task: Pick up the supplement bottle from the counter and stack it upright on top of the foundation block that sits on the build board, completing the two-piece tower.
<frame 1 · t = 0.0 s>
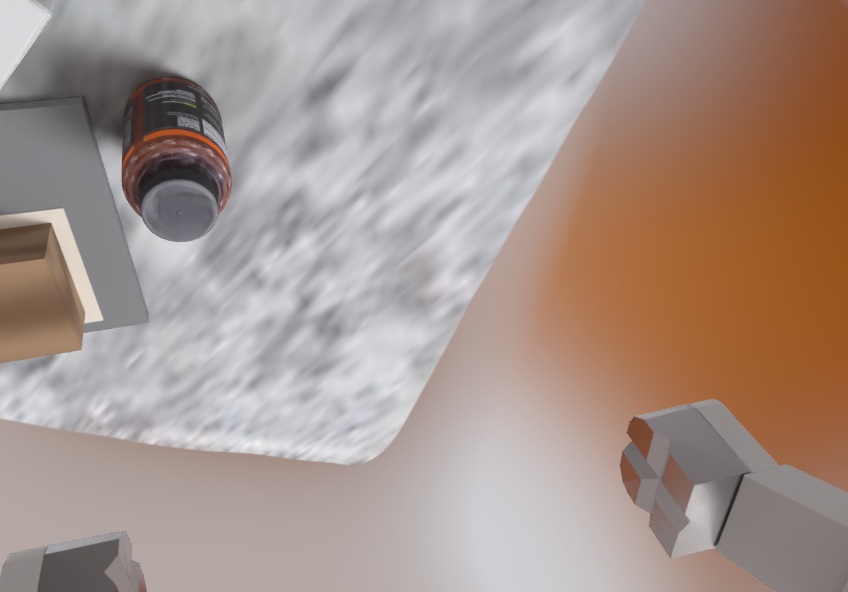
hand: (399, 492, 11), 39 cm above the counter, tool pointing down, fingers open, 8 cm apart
supplement bottle: (173, 116, 46), on the counter
foundation block: (6, 278, 49), point 1 cm above the counter, touching build board
build board: (9, 232, 48), on the counter
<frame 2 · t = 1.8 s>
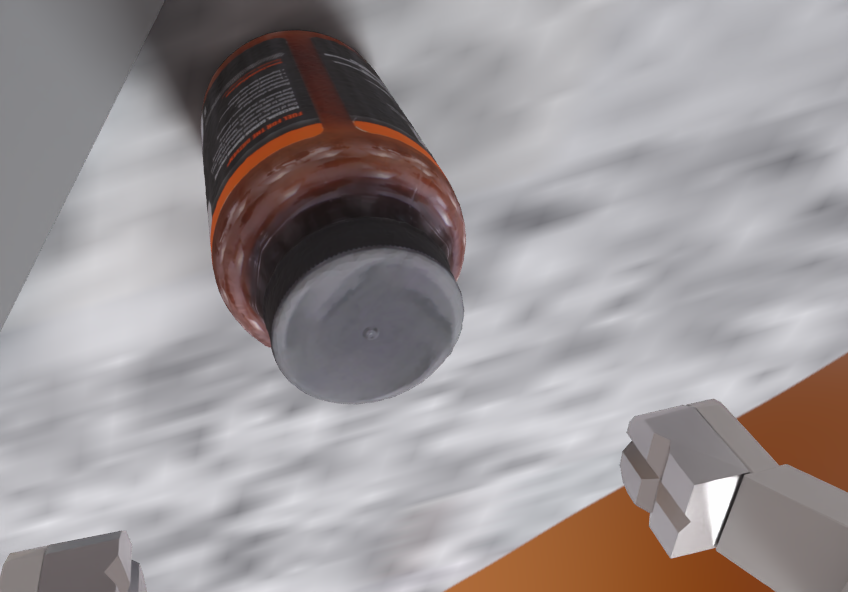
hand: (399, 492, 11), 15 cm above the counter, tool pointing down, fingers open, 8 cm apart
supplement bottle: (295, 117, 23), on the counter
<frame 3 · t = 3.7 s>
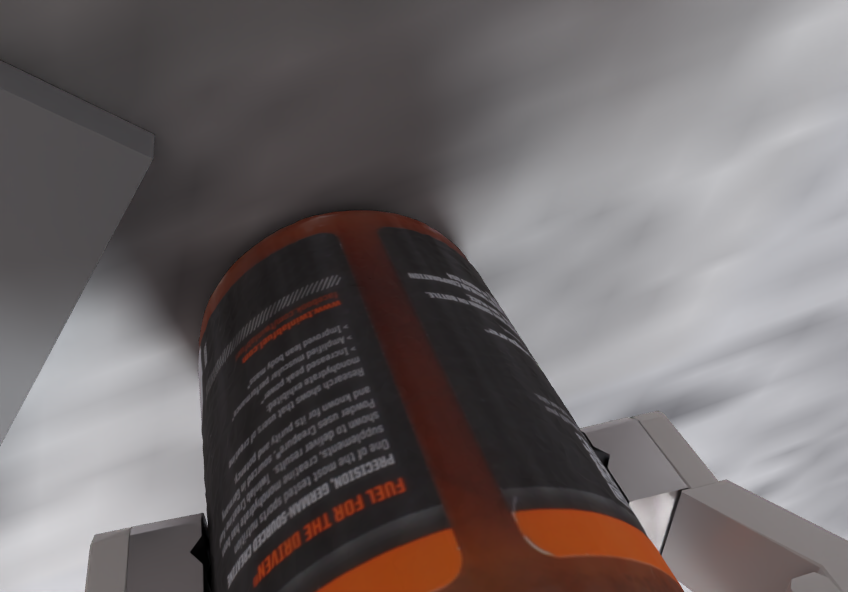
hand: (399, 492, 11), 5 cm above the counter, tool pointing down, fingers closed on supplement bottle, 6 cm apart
supplement bottle: (342, 318, 15), on the counter, touching gripper
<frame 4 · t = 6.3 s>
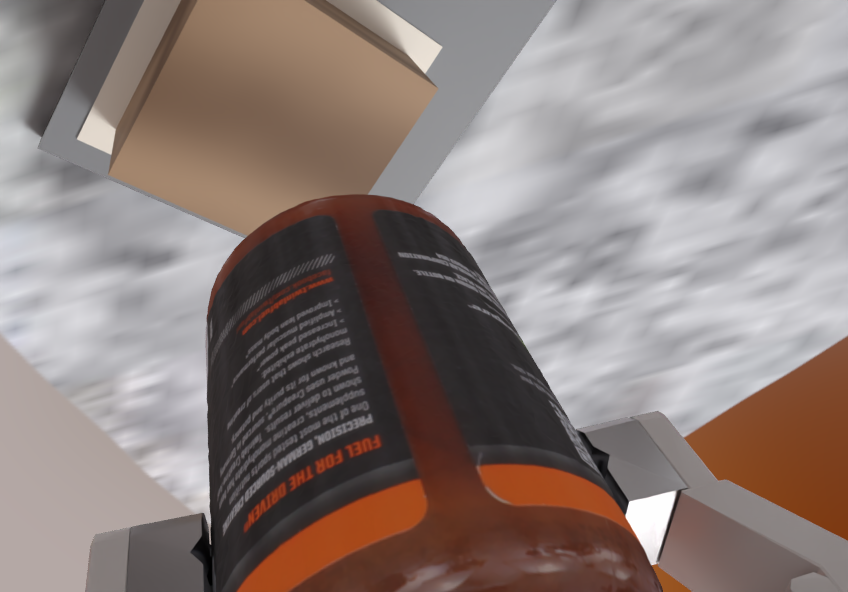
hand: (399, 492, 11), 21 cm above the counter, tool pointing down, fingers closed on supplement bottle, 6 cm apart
supplement bottle: (343, 298, 16), point 15 cm above the counter, touching gripper
foundation block: (266, 91, 27), point 1 cm above the counter, touching build board
build board: (324, 28, 27), on the counter
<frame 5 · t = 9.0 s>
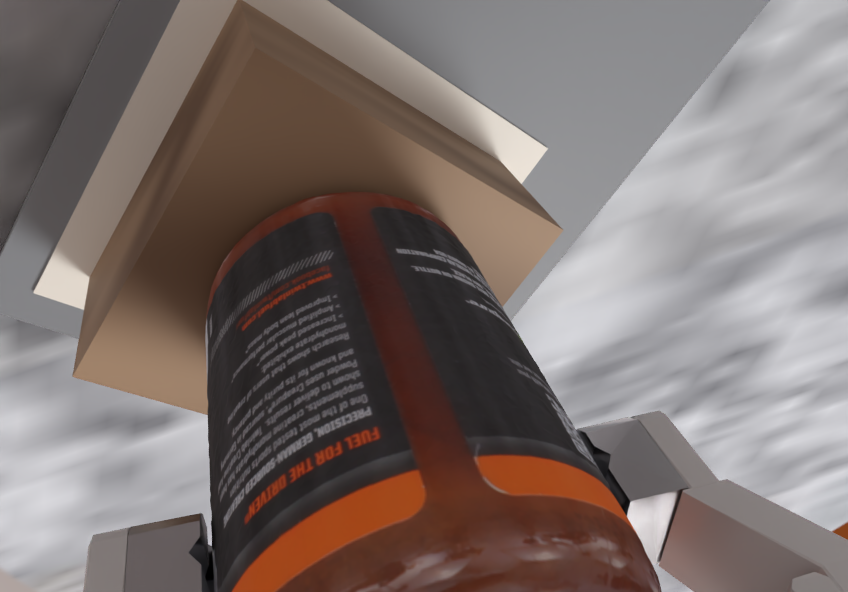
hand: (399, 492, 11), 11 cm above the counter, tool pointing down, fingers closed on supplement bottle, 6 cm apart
supplement bottle: (342, 295, 16), point 5 cm above the counter, touching foundation block, gripper
foundation block: (303, 217, 19), point 1 cm above the counter, touching supplement bottle, build board
build board: (385, 126, 19), on the counter
when the fingers open (11 cm above the counter, at t = 9.0 s): supplement bottle stays where it is, resting on foundation block.
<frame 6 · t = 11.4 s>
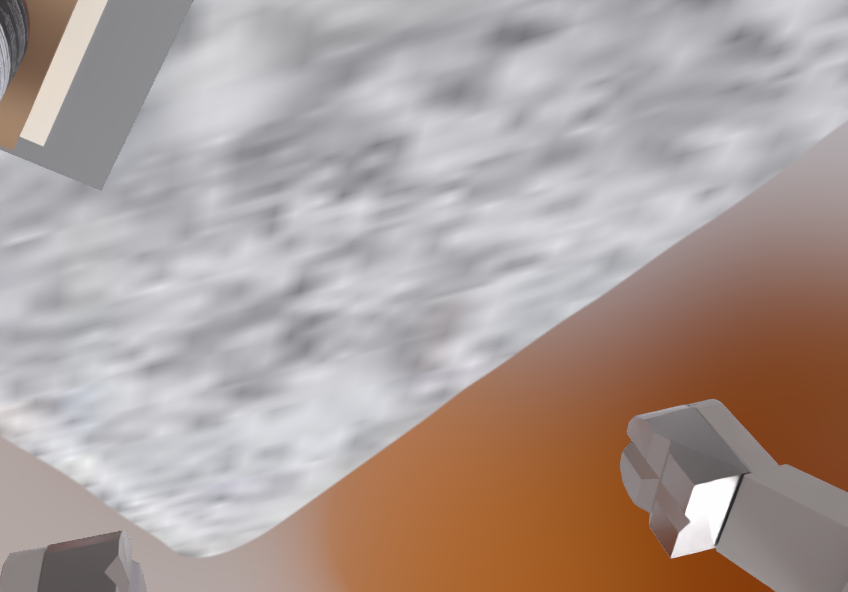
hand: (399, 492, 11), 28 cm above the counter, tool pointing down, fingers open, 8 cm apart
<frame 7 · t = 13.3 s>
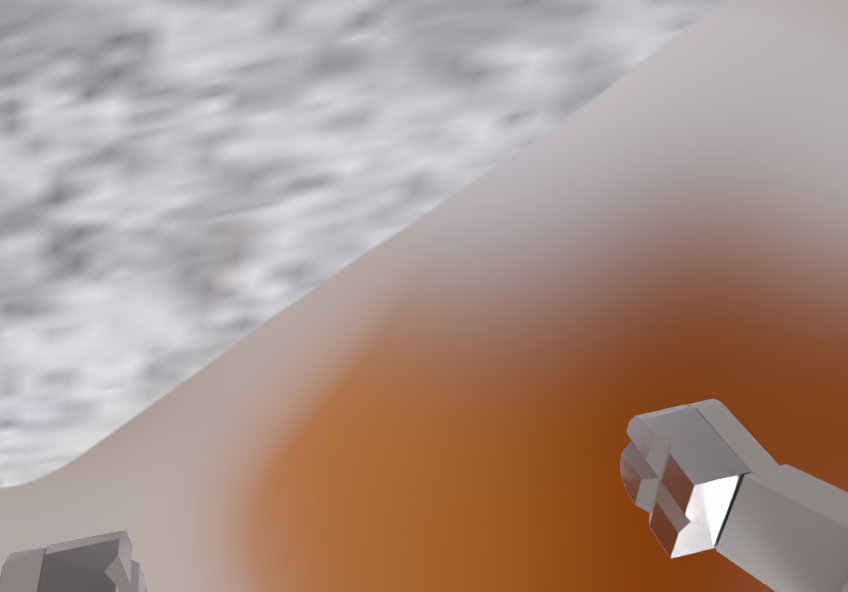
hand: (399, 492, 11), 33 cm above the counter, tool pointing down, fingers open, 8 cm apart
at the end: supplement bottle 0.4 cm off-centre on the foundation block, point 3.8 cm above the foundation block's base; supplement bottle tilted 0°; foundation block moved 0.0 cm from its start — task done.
